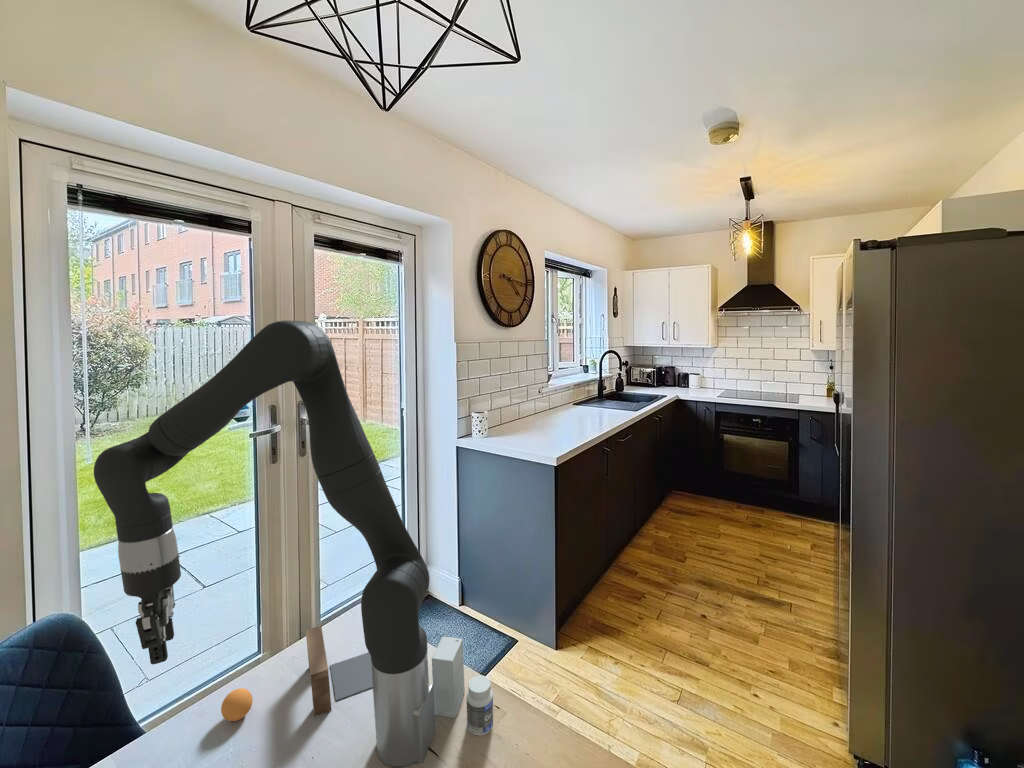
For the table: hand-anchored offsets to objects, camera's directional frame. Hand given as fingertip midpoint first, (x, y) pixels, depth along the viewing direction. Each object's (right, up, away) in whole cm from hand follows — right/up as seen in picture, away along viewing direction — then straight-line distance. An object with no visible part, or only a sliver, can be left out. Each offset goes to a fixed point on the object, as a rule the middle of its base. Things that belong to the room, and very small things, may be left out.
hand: (163, 649), depth 78 cm
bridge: (+21, -15, +13) cm, 29 cm away
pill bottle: (+54, -17, +5) cm, 56 cm away
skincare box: (+48, -16, +9) cm, 51 cm away
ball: (+9, -14, +7) cm, 18 cm away
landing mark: (+28, -15, +17) cm, 36 cm away
